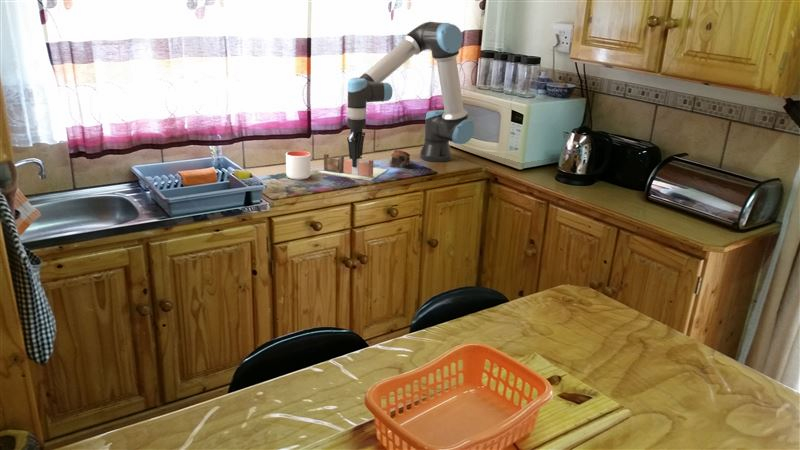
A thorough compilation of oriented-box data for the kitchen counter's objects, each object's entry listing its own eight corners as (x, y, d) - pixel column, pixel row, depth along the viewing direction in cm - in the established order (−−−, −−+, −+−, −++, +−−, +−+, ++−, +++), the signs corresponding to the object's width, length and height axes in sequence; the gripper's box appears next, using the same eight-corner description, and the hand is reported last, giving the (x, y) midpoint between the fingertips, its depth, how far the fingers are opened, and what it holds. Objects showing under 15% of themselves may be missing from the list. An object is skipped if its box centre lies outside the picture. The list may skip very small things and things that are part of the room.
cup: (308, 173, 272) (307, 150, 269) (312, 179, 263) (312, 156, 260) (284, 174, 269) (284, 151, 266) (288, 180, 260) (288, 157, 257)
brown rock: (383, 165, 292) (389, 149, 293) (400, 173, 297) (405, 156, 298) (398, 165, 282) (403, 147, 283) (414, 173, 287) (420, 155, 288)
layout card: (387, 170, 283) (387, 169, 282) (370, 180, 266) (370, 179, 266) (337, 163, 291) (337, 162, 290) (318, 172, 274) (318, 171, 274)
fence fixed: (344, 173, 275) (344, 156, 272) (342, 174, 273) (342, 157, 271) (325, 170, 278) (325, 153, 275) (323, 171, 276) (323, 154, 274)
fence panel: (343, 172, 273) (343, 157, 271) (344, 171, 274) (345, 156, 272) (371, 176, 269) (372, 161, 266) (373, 175, 270) (373, 160, 268)
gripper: (354, 114, 265) (353, 169, 273) (341, 119, 254) (340, 176, 262) (371, 116, 263) (369, 171, 271) (358, 121, 251) (357, 179, 259)
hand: (355, 174), depth 266 cm, fingers closed
